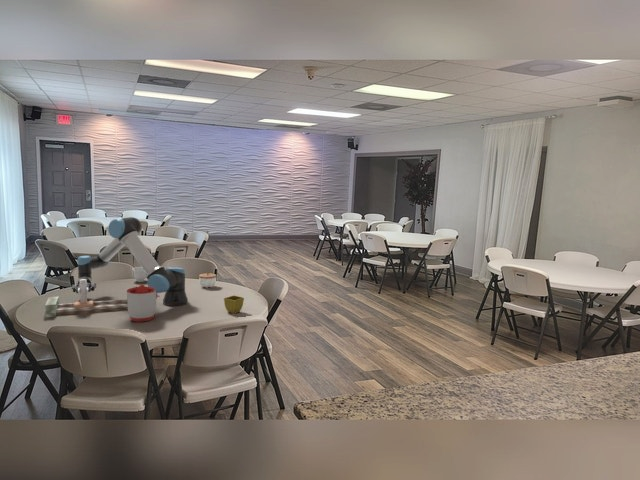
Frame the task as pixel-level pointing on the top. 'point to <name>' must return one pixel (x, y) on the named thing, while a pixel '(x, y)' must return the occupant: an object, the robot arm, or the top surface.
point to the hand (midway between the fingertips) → (83, 292)
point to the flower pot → (233, 303)
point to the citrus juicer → (141, 303)
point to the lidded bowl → (207, 279)
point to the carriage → (83, 296)
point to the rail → (66, 309)
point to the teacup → (139, 274)
